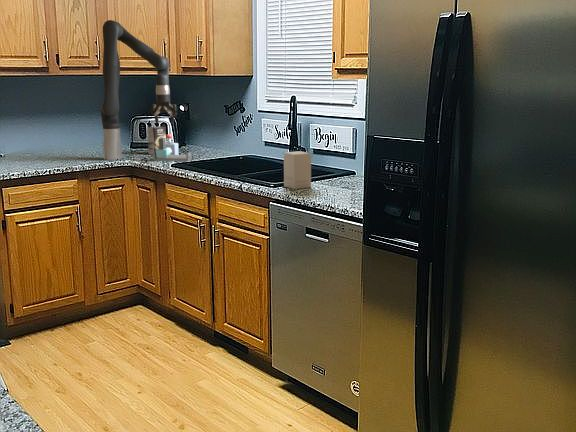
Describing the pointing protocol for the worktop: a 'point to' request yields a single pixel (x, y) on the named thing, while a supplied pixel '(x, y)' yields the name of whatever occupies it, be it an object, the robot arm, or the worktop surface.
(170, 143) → the plunger
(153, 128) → the coffee box
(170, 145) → the gauge box
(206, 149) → the worktop surface
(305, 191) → the worktop surface
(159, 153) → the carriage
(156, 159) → the rail
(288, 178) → the supplement box
